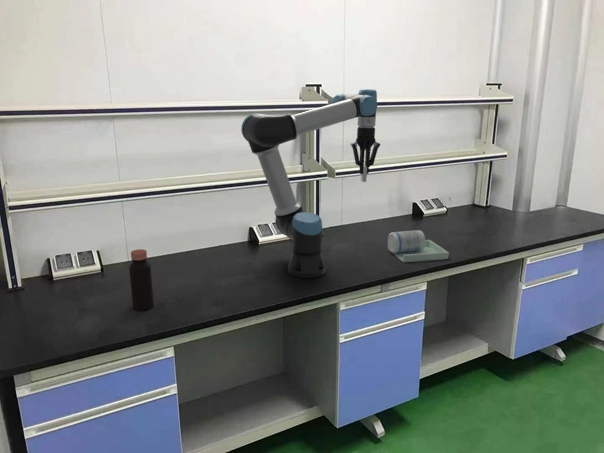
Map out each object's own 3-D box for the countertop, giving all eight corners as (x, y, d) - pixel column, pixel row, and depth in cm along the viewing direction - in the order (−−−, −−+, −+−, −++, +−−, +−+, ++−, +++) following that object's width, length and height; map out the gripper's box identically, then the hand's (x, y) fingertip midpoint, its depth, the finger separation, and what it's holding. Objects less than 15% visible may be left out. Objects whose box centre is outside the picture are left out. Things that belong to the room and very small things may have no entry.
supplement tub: (396, 254, 216) (426, 251, 220) (395, 233, 216) (425, 230, 219) (387, 252, 226) (416, 249, 229) (386, 231, 225) (415, 229, 229)
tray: (403, 262, 211) (404, 255, 210) (387, 248, 228) (388, 242, 227) (448, 259, 216) (448, 252, 215) (429, 246, 233) (429, 239, 232)
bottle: (151, 311, 164) (146, 255, 159) (130, 311, 164) (125, 255, 158) (155, 302, 171) (151, 248, 165) (135, 302, 170) (130, 248, 165)
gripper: (354, 127, 204) (352, 183, 211) (384, 127, 207) (380, 182, 214) (349, 126, 211) (346, 180, 218) (377, 125, 214) (374, 179, 221)
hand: (363, 181), depth 216 cm, fingers closed
